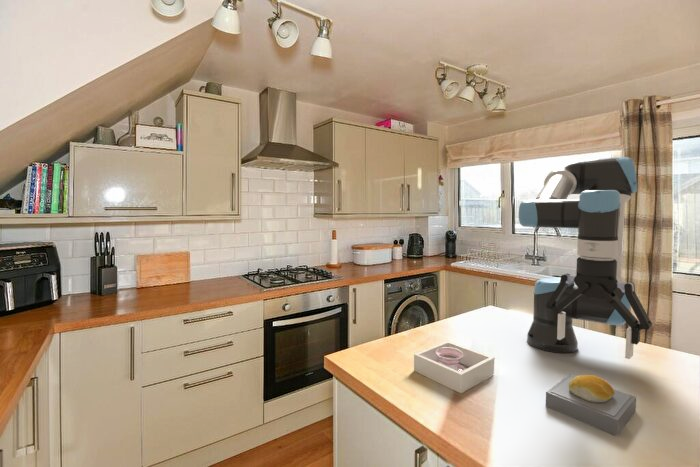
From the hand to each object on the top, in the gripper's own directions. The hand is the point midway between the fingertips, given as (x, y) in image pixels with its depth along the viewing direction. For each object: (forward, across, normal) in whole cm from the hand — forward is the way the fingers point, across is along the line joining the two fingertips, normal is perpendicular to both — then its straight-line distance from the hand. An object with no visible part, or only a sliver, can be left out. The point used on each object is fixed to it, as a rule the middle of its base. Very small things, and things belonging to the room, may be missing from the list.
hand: (592, 347), depth 80 cm
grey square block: (+15, 0, -1) cm, 15 cm away
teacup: (+15, -32, -12) cm, 37 cm away
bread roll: (+11, 0, -1) cm, 11 cm away
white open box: (+15, -31, -11) cm, 36 cm away
